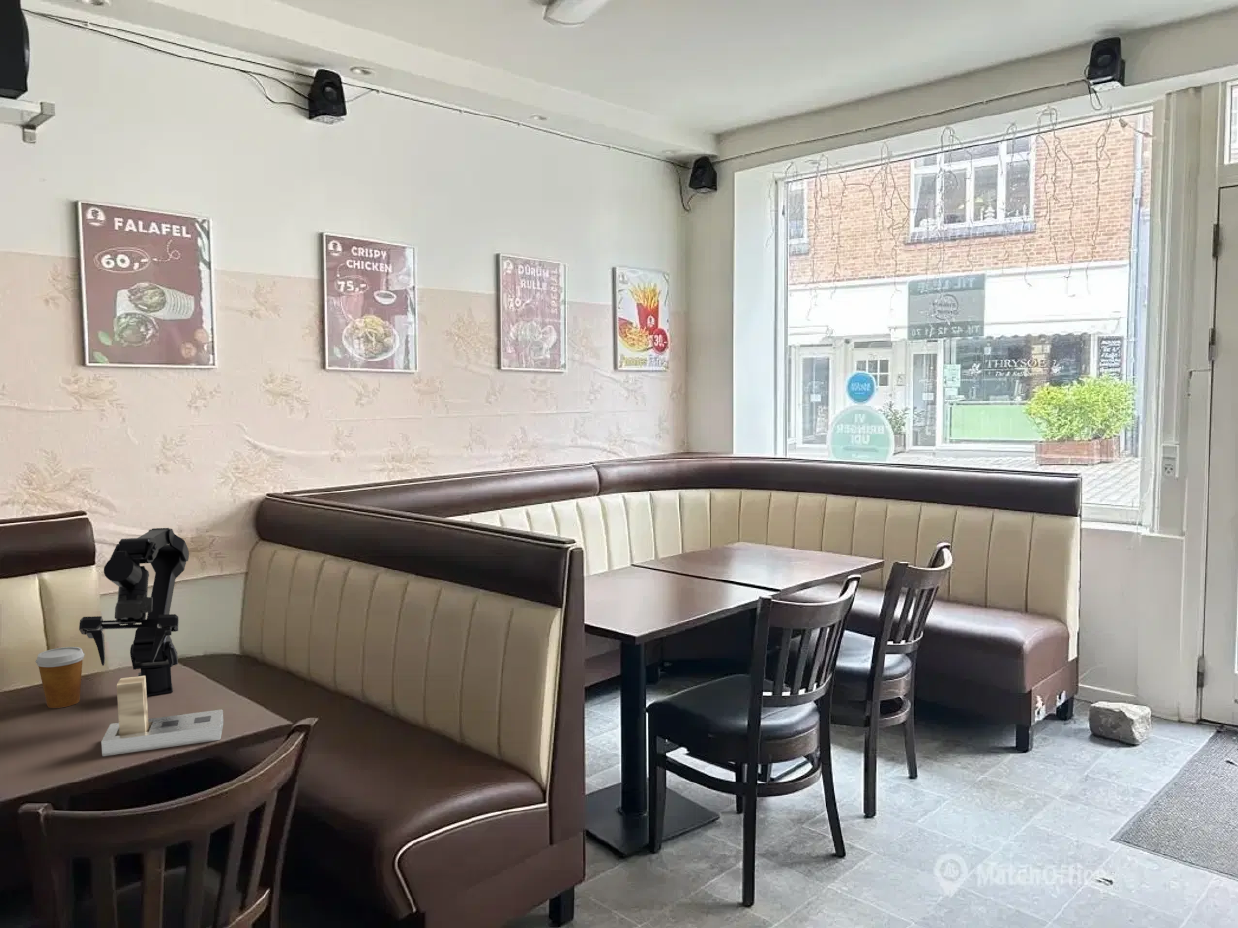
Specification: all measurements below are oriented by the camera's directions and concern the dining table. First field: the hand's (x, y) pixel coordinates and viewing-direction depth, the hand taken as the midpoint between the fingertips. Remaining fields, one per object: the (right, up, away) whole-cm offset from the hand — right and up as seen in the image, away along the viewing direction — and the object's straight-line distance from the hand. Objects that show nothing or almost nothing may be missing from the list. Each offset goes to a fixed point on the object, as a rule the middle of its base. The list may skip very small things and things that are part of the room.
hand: (127, 664), depth 191 cm
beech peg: (+8, -13, -12) cm, 19 cm away
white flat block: (+13, -13, -10) cm, 21 cm away
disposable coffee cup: (-22, -12, +13) cm, 28 cm away
